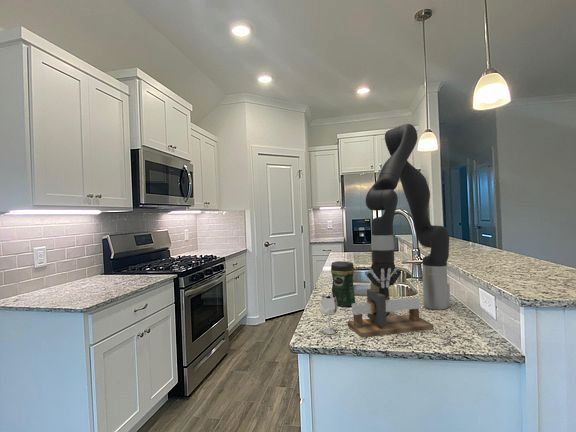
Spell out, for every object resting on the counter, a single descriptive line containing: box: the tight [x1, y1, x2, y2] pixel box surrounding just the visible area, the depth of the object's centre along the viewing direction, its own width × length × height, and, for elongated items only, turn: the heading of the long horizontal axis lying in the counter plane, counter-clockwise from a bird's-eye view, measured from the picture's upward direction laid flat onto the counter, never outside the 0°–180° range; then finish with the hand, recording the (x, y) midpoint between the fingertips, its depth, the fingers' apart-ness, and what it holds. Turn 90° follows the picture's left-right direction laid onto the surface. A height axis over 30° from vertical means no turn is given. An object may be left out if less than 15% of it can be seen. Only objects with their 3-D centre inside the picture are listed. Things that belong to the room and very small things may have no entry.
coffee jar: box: [330, 260, 356, 307], centre depth 149 cm, size 10×8×19 cm
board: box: [347, 308, 435, 338], centre depth 120 cm, size 26×12×6 cm, turn 102°
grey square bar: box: [351, 297, 421, 315], centre depth 120 cm, size 24×4×4 cm, turn 102°
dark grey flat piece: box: [366, 288, 387, 326], centre depth 119 cm, size 2×10×10 cm, turn 12°
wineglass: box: [319, 294, 338, 335], centre depth 118 cm, size 6×6×12 cm
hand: (383, 298), depth 119 cm, fingers closed
